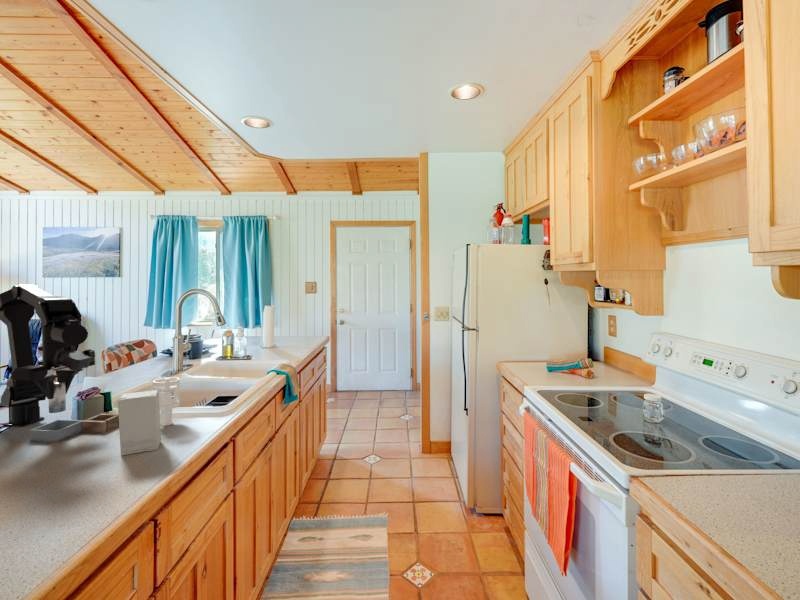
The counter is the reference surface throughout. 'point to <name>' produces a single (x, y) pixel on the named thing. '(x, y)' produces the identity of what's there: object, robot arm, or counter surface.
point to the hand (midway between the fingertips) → (57, 396)
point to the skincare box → (139, 422)
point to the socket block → (100, 423)
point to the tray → (56, 430)
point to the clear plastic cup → (167, 397)
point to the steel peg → (58, 398)
